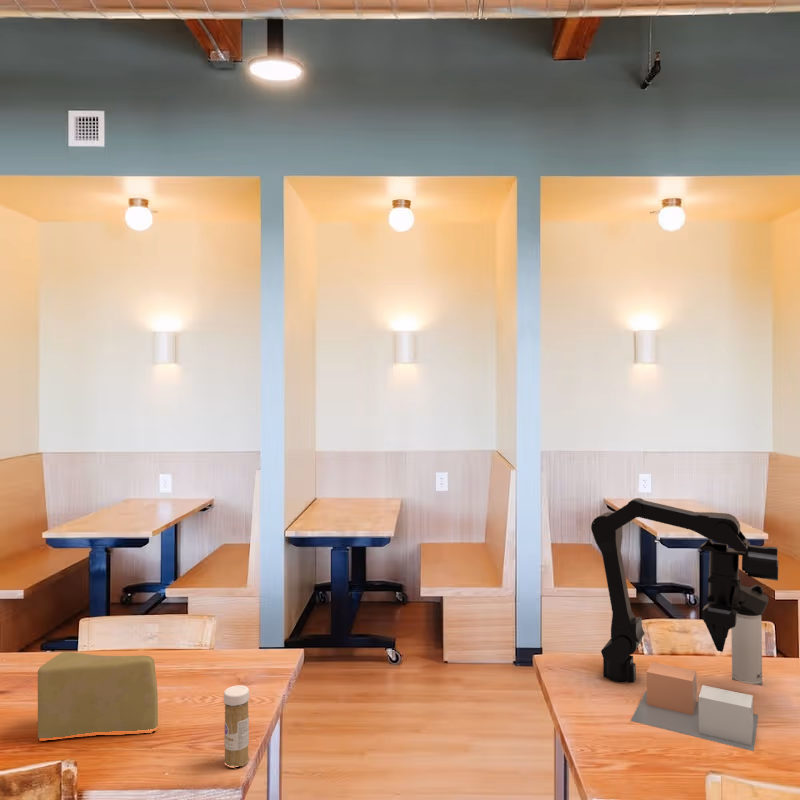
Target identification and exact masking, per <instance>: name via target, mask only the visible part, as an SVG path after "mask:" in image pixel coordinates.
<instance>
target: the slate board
mask: <svg viewBox="0 0 800 800" xmlns="http://www.w3.org/2000/svg"><path fill="white" fill-rule="evenodd" d="M758 719H759V714H756V713H753V738H752V745H748V744H744V743H740V742H736V741H732V740H727V739H723V738H719V737H715V736H711V735H707V734H703V733H699V701H697V704H696V707H695V710H694V713H693V715H690V714H686V713H681V712H677V711H673V710H668V709H664V708H660V707H655V706H651V705H647V689H646V690H645V692H644V693H643V696H642V698H641V699H640V701H639V704H638V706H637V707H636V708H635V711H634V713H633V715H632V717H631V719H630V722H633V723H638V724H642V725H645V726H650V727H653V728H658V729H662V730H665V731H670V732H673V733H679V734H683V735H686V736H690V737H694V738H700V739H702V740H706V741H710V742H715V743H718V744H724V745H727V746H730V747H731V746H732V747H735V748H739V749H744V750H748V751H752V752H754V751H755V746H756V737H757V729H758Z"/></svg>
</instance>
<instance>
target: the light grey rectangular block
mask: <svg viewBox="0 0 800 800" xmlns="http://www.w3.org/2000/svg"><path fill="white" fill-rule="evenodd" d="M699 691H700V692H699V695H698V702H699V733H703V734H707V735H711V736H715V737H719V738H723V739H727V740H732V741H736V742H740V743H744V744H748V745H752V738H753V714H754V695H752V694H748V693H743V692H742V693H741V692H736V691H732V690H727V689H724V688H723V689H722V688H718V687H713V686H708V685H703V684H702V685H701V689H700V690H699Z"/></svg>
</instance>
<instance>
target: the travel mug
mask: <svg viewBox="0 0 800 800" xmlns="http://www.w3.org/2000/svg"><path fill="white" fill-rule="evenodd" d="M762 624H763V622H762V615H759V614H756V613H755V612H754V611H752V610H750V609H748V608H746V607H744V606H742V605H741V607H740V610H738V611H737V622H736V626H735V627H734V628H731V629H730V630H731V680H732V681H737V682H741V683H744V684H750V685H756V686H761V687H762V686H763V641H762V640H763V638H762V637H763V636H762V635H763V634H762V633H763V631H762V630H763V629H762V627H763V626H762Z"/></svg>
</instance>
